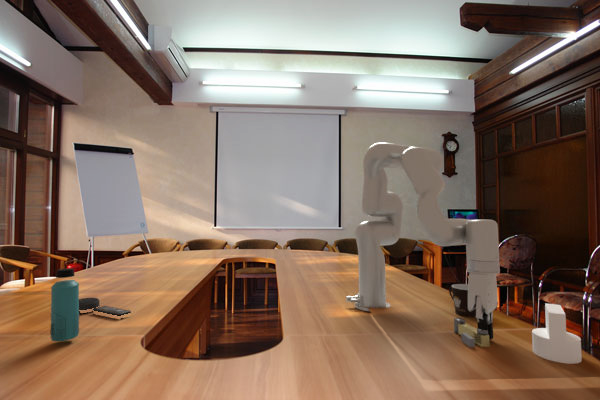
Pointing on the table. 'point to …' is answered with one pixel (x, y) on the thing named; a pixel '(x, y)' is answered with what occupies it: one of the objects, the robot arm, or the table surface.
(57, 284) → the beverage bottle
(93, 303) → the smart speaker
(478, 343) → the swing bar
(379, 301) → the robot arm
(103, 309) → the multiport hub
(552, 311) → the cylinder with rectangular tab
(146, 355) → the table surface
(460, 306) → the coffee mug
